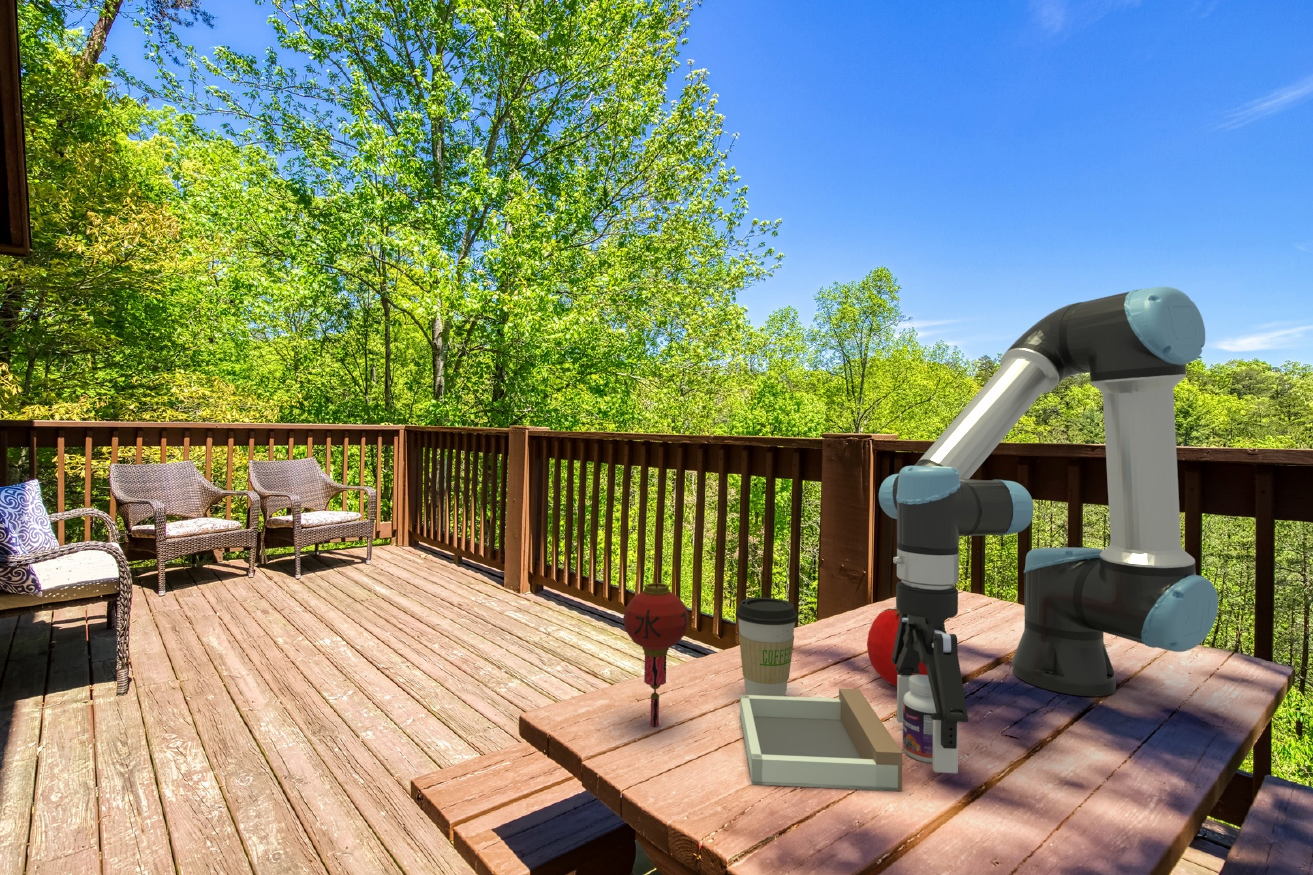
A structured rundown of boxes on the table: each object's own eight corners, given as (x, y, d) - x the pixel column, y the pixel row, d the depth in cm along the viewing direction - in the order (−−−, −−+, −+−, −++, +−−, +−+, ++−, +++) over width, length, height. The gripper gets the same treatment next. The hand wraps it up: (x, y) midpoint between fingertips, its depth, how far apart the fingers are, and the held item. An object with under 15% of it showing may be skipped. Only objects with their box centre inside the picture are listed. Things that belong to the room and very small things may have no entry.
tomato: (868, 694, 102) (869, 613, 102) (864, 668, 114) (865, 595, 114) (946, 703, 99) (947, 619, 99) (933, 675, 111) (934, 600, 111)
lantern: (695, 716, 93) (698, 513, 93) (676, 745, 84) (679, 521, 84) (635, 706, 96) (638, 510, 96) (611, 733, 87) (614, 517, 87)
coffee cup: (797, 714, 94) (799, 614, 94) (731, 707, 96) (733, 609, 96) (796, 689, 104) (797, 598, 104) (736, 683, 106) (737, 594, 106)
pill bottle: (895, 744, 85) (896, 672, 85) (933, 743, 86) (934, 671, 86) (915, 764, 80) (915, 688, 80) (955, 763, 80) (956, 687, 80)
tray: (859, 719, 93) (859, 689, 93) (901, 791, 74) (902, 752, 74) (739, 714, 94) (740, 684, 94) (751, 784, 75) (752, 746, 75)
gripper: (871, 563, 96) (869, 703, 95) (933, 606, 71) (931, 795, 71) (921, 565, 95) (919, 705, 95) (1002, 608, 70) (999, 799, 70)
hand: (924, 744), depth 83 cm, fingers open, 13 cm apart
